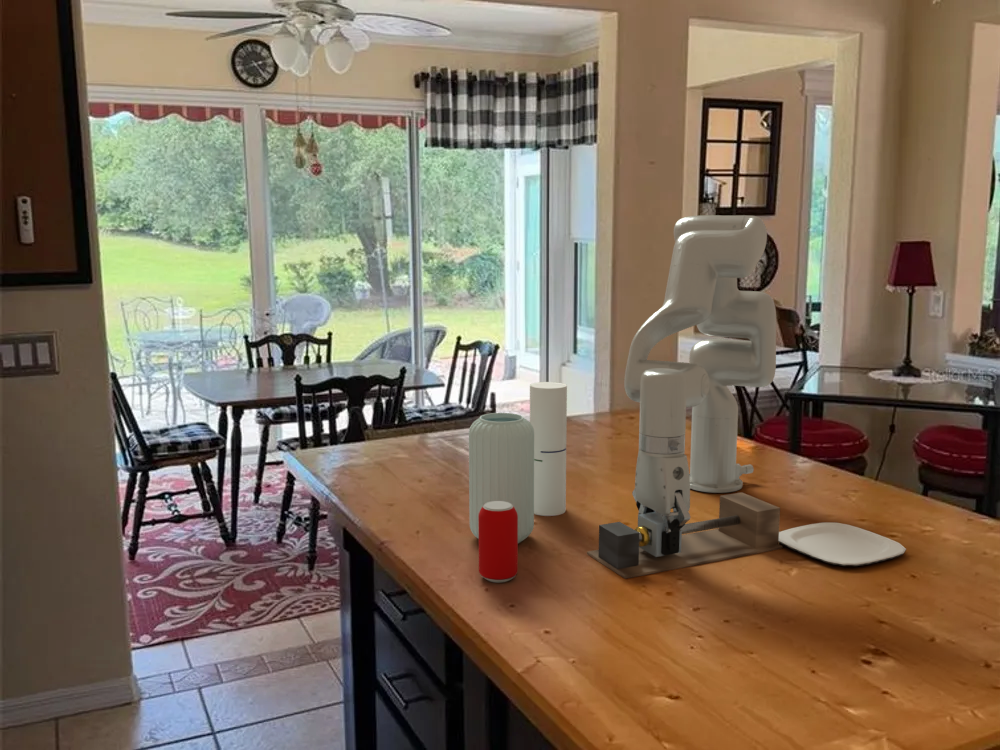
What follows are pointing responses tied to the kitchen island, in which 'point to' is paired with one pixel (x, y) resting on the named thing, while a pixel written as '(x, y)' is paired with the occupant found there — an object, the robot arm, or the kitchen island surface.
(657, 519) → the grey sliding block
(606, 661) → the kitchen island surface
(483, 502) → the vase
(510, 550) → the beverage can
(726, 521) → the metal rod
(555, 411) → the cylindrical container
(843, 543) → the plate
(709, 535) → the slide base
